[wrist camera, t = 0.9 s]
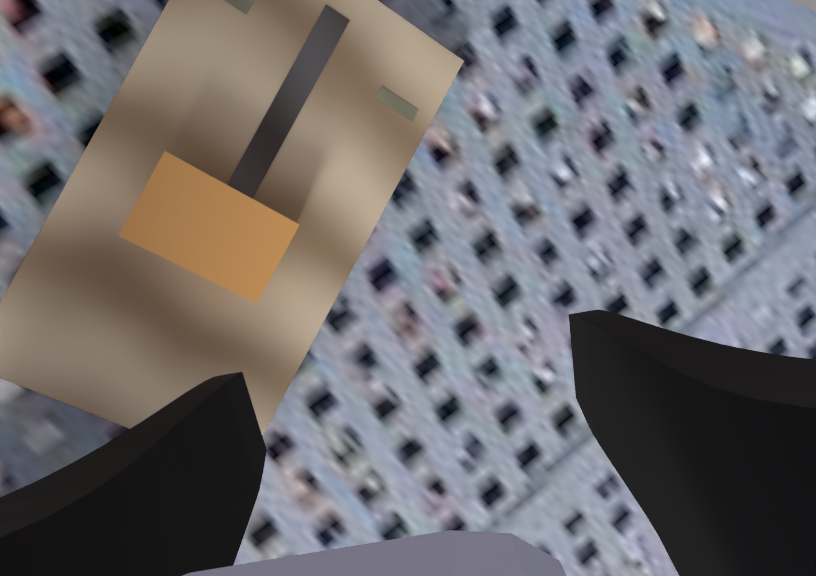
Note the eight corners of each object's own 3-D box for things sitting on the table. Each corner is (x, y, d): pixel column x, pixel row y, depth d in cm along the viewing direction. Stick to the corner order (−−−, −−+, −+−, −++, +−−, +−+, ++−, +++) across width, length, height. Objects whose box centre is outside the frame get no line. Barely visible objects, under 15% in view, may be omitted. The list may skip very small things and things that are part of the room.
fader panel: (244, 455, 27) (241, 473, 25) (-10, 353, 24) (-36, 364, 22) (449, 73, 27) (464, 60, 25) (230, -79, 24) (227, -106, 22)
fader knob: (257, 296, 24) (256, 303, 21) (134, 234, 22) (118, 235, 20) (296, 225, 24) (299, 224, 22) (175, 159, 22) (164, 150, 20)
